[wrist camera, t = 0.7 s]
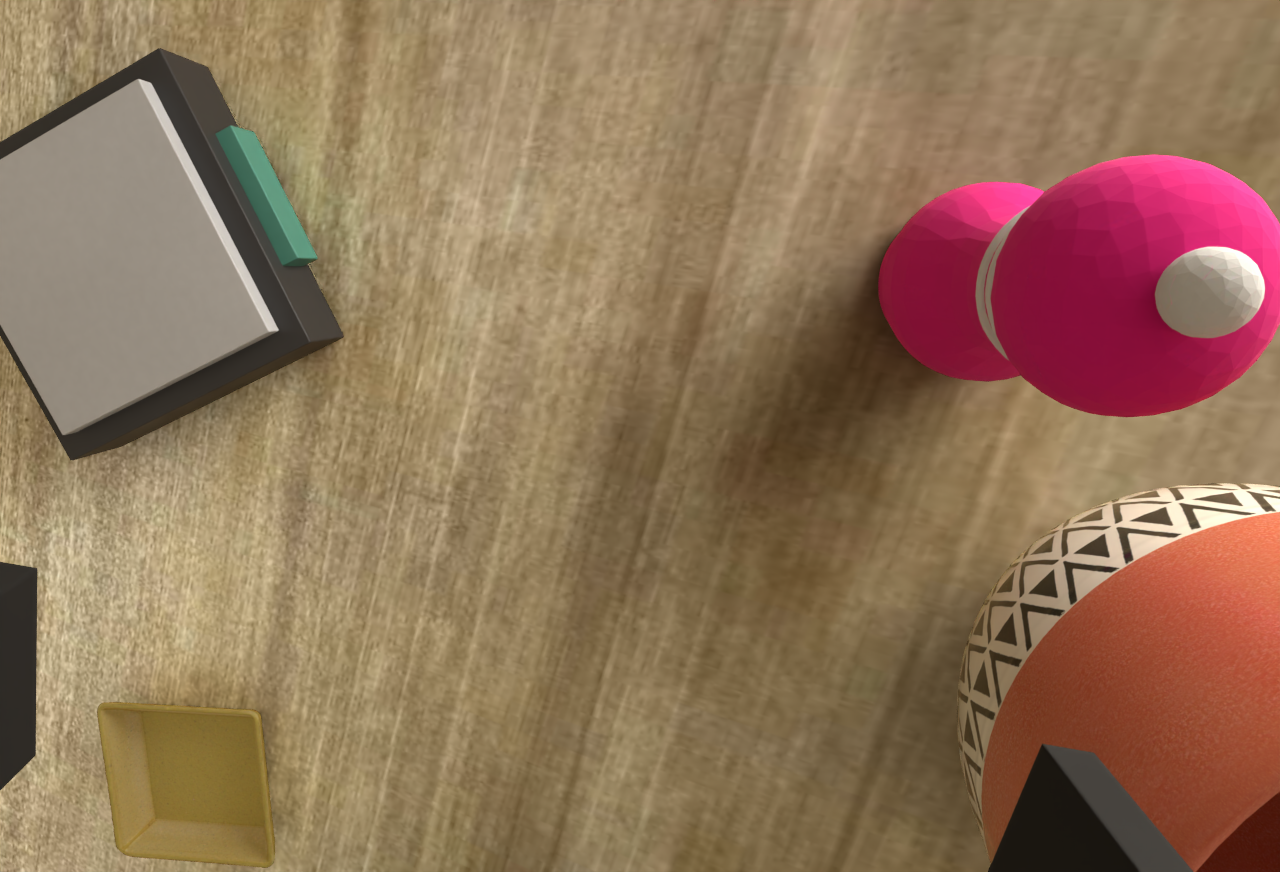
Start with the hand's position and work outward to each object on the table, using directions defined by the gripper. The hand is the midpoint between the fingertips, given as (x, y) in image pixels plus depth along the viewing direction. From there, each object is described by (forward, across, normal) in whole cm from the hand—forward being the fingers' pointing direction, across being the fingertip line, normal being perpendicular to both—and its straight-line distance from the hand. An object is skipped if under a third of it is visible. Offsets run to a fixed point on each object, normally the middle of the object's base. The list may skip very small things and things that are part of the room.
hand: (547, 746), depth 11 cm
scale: (+30, -20, -1) cm, 37 cm away
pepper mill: (+26, +14, +6) cm, 30 cm away
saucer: (+28, -15, -26) cm, 41 cm away
